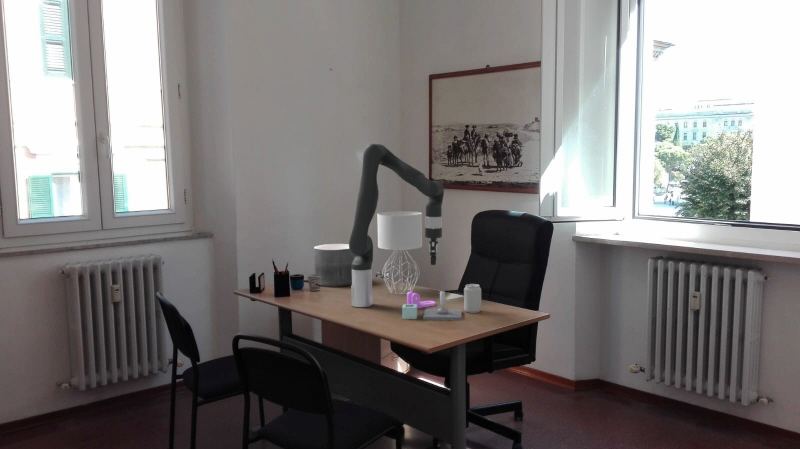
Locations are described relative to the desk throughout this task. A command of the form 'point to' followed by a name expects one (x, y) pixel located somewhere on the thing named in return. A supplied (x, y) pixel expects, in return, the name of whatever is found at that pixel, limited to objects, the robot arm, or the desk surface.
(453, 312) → the post block
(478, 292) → the can
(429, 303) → the bracket
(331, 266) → the planter
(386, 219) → the table lamp
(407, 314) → the collar
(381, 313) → the desk surface
